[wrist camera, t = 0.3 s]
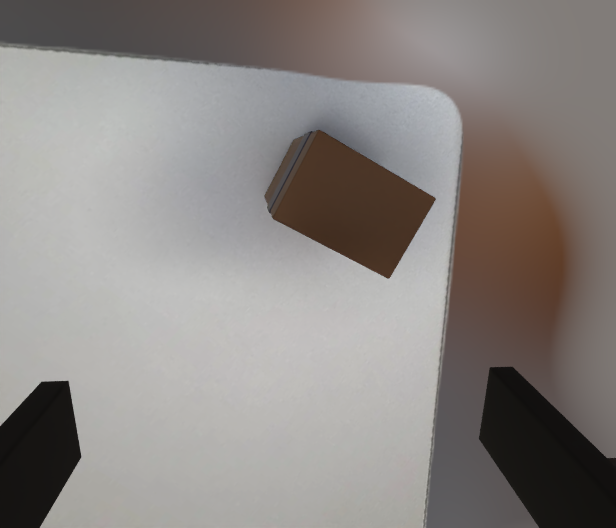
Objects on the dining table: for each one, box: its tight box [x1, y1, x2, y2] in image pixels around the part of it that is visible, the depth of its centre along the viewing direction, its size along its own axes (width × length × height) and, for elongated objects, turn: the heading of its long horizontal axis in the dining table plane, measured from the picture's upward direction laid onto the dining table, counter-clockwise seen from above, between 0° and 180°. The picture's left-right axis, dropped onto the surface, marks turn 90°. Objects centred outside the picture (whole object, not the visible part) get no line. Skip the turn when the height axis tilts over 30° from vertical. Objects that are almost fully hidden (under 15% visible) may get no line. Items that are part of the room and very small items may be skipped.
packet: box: [265, 130, 436, 278], centre depth 25 cm, size 6×4×11 cm
